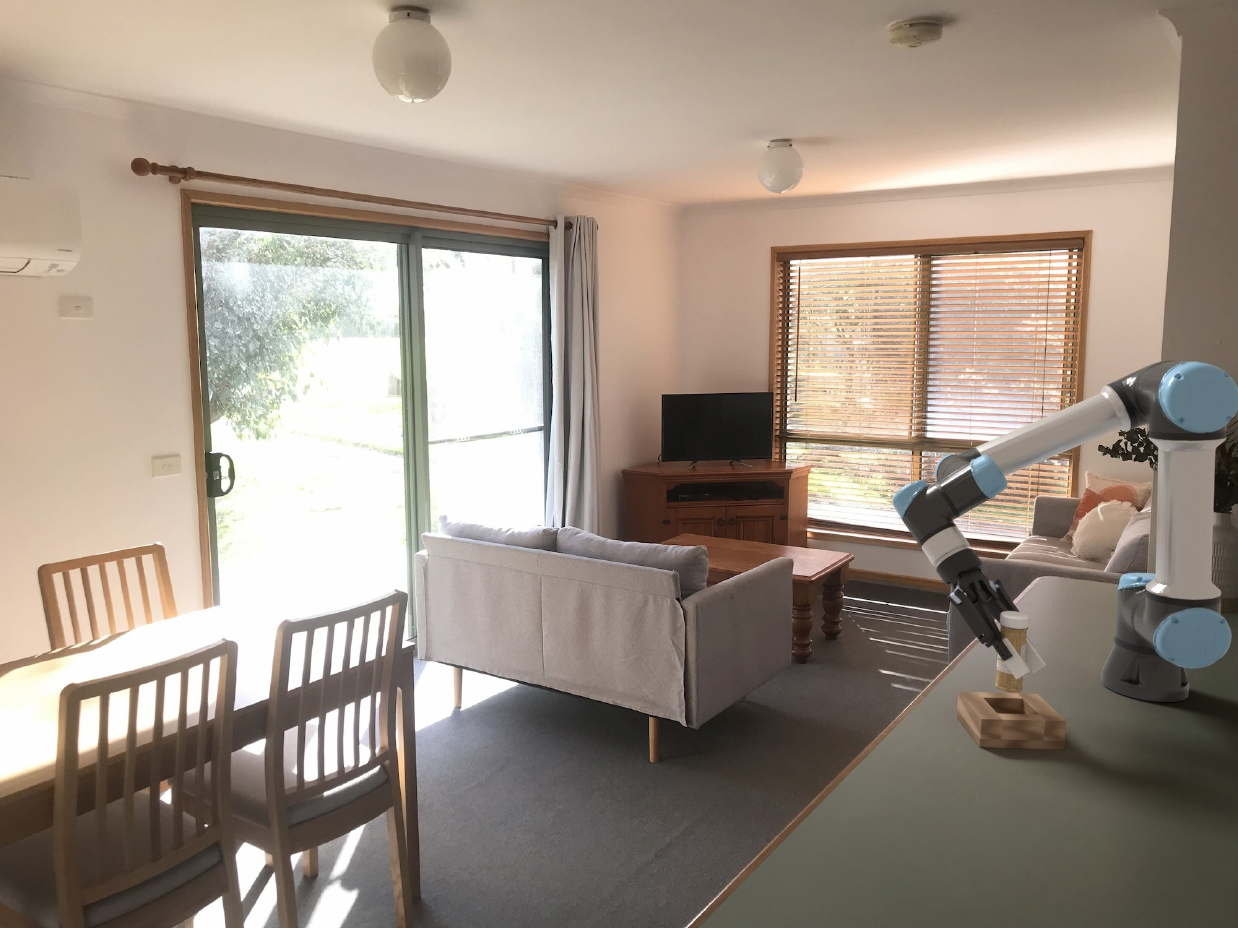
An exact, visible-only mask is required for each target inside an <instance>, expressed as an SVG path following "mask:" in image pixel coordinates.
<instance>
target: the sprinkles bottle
mask: <svg viewBox="0 0 1238 928" xmlns="http://www.w3.org/2000/svg"><path fill="white" fill-rule="evenodd" d="M1029 624H1030V617H1029V615H1028V614H1027V613H1024V612H1020V611H1019V612H1015V611H1004V612H1002V613H1001V615H1000V623H999V625H1000V629H999V631H1000V633H1001V634H1002V637H1003V638H1002V640H1003V639H1004V638H1008V640H1009V641H1010V642H1011V644H1012V645H1013V647H1014V648H1015V650H1016V651H1017V653H1018V654H1019V656H1020V657H1021V659H1022V660H1023V661H1024V663H1025V652H1026V637H1027V638H1028V636H1027V635H1028V630H1029ZM1027 629H1028V630H1027ZM996 657H997V659H996V676H995V683H994V686H995V688H996V689H998V690H1000V691H1002V692H1004V693H1022V691H1023V690H1024V688H1023V681H1024V676H1022V677H1021V678H1019V679H1017V680H1016V678H1015V677H1014V675H1013V674H1012V672H1011V671H1010V670H1009V668H1008V667H1007V665H1006V664H1005V662H1004V661H1003V660H1002V659H1001V657H1000V655H999V654H998V653H997V656H996ZM1025 664H1026V663H1025Z"/></svg>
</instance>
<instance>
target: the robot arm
mask: <svg viewBox="0 0 1238 928" xmlns="http://www.w3.org/2000/svg"><path fill="white" fill-rule="evenodd" d="M1237 412H1238V385H1237V383H1236V381H1235V379H1234V378H1233V377H1232V376H1231V375H1230V374H1229V373H1228V372H1227V371H1225V370H1224V369H1222V368H1220V367H1218V366H1216V365H1213V364H1210V363H1207V362H1203V361H1193V360H1192V361H1184V360H1183V361H1181V360H1180V361H1179V360H1161V361H1158V362H1155V363H1151V364H1149V365H1147V366H1146V365H1145V366H1143V367H1142V368H1140V369H1138V370H1136V371H1133V372H1131V373H1130V374H1127V375H1125V376H1123V377H1120V378H1119V379H1117V380H1114V381H1112V382H1110V383H1108V384H1105V385H1104V386H1102V387H1101V390H1100V392H1099V393H1098V394H1096V395H1094V396H1092V397H1088V398H1087V399H1084V400H1082V401H1080V402H1076V403H1075V404H1073V405H1070V406H1068V407H1066V408H1063V409H1061V410H1059V411H1057V412H1054V413H1052V414H1050V415H1047V416H1044V417H1043V418H1040V419H1038V420H1036V421H1033V422H1030V423H1028V424H1027V425H1024V426H1022V427H1019V428H1017V429H1014V430H1012V431H1010V432H1007V433H1005V434H1003V435H1000V436H998V437H996V438H994V439H991V440H989V441H987V442H984V443H982V444H980V445H977V446H975V447H973V448H970V449H968V450H966V451H964V452H961V453H950V454H947V455H945V456H943V457H941V459H939V461H937V464H936V466H935V469H934V475H935V481H936V482H935V483H933V484H931V485H930V484H928V483H927V481H925V480H923V479H919V480H918V479H917V480H915V481H912V482H911V483H907V484H906V485H904V486H903V487H901V488H900V489H899V490H897V492H896V493H895V494H894V496H893V498H892V505H893V507H894V509H895V510H896V513H898V516H899V517H900V519H901V521H902V522H903V523H904V525H905V526H906V528H907V529H908V530H907V531H908V532H910V534H911V535H912V537H913V538H914V540H915V541H916V543H917V544H918V545H919V547H920V549H921V550H922V552H924V554H925V556H926V557H927V558H928V560H929V562H930V563H931V565H932V566H933V567H936V573H937V574H938V576H939V577H940V579H941V580H942V582H943V583H944V584H945V586H948V587H950V586H952V589H953V592H951V593H949V595H947V600H948V601H949V602H950V603H951V604H952V605H953V606H954V607H955V608H956V609H957V611H958V613H959V614H960V615H961V617H962V618H963V620H964V621H965V622H966V624H967V625H968V627H969V628H970V630H971V632H973V634H974V636H975V637H976V638H977V640H978V641H979V643H980V644H982V645H984V646H985V647H986V648H989V649H990V648H991V647H993V648H994V649H995V652H996V653H997V655H998V654H999V655H1000V657H1001V659H1002V660H1003V661H1004V662H1005V664H1006V665H1007V667H1008V668H1009V670H1010V671H1011V672H1012V674H1013V675H1014V677H1015V678H1016V680H1017V679H1019V678H1021V677H1022V676H1023V677H1024V676H1025V675H1027V674H1028V673H1030V672H1031V673H1032V674H1036V673H1037V672H1038V671H1040V670H1042V669H1043V668H1045V667H1047V664H1046V663H1045V661H1044V660H1043V658H1042V657H1041V655H1040V654H1039V652H1038V651H1037V649H1036V648H1035V647H1034V646H1035V645H1033V643H1032V642H1031V641H1030V638H1029V637H1028V636H1027V637H1026V652H1025V663H1024V661H1023V660H1022V659H1021V657H1020V656H1019V654H1018V653H1017V651H1016V650H1015V648H1014V647H1013V645H1012V644H1011V642H1010V641H1009V640H1008V638H1004V639H1003V640H1002V638H1003V637H1002V634H1001V633H1000V629H999V627H998V625H997V623H998V624H1000V615H1001V613H1002V612H1004V611H1015V612H1020V610H1019V609H1018V607H1017V606H1016V605H1015V603H1014V602H1013V600H1012V598H1011V597H1010V596H1009V594H1008V593H1007V591H1006V589H1005V588H1004V585H1003V583H1002V580H1001V579H999V578H997V579H995V580H994V581H993V580H990V579H989V578H988V576H986V575H985V574H984V573H983V572H982V568H983V565H984V564H983V561H982V560H981V559H980V557H979V556H978V554H977V553H976V551H975V550H974V549H973V548H970V543H969V541H968V539H967V538H966V537H965V536H964V534H963V533H962V532H961V530H960V529H959V528H958V526H957V525H956V523H955V522H954V521H955V520H956V519H958V518H960V517H961V516H963V515H965V514H966V513H968V512H970V511H972V510H974V509H975V508H977V507H979V506H980V505H983V504H984V503H986V502H987V501H990V500H991V499H994V498H995V497H996V496H997V495H999V494H1000V493H1003V491H1004V490H1006V489H1007V487H1008V480H1007V478H1006V477H1007V476H1009V475H1012V474H1014V473H1016V472H1019V471H1021V470H1023V469H1026V468H1028V467H1031V466H1033V465H1036V464H1037V463H1040V462H1042V461H1046V460H1047V459H1051V458H1052V457H1055V456H1057V455H1060V454H1062V453H1064V452H1066V451H1069V450H1071V449H1074V448H1076V447H1079V446H1081V445H1083V444H1085V443H1089V442H1091V441H1093V440H1095V439H1099V438H1100V437H1103V436H1105V435H1108V434H1110V433H1112V432H1115V431H1117V430H1120V431H1123V432H1129V431H1131V430H1133V429H1135V428H1139V427H1143V426H1147V425H1148V439H1149V441H1150V442H1152V444H1154V446H1156V447H1157V449H1158V451H1157V452H1158V454H1157V455H1158V456H1157V497H1156V498H1157V499H1156V501H1157V502H1156V533H1155V534H1156V539H1155V541H1156V542H1155V545H1156V548H1155V573H1153V572H1152V573H1151V572H1127V573H1124V574H1122V575H1121V576H1120V578H1119V583H1118V588H1117V590H1116V591H1117V599H1116V600H1117V602H1116V612H1115V614H1116V615H1115V627H1114V637H1113V639H1114V640H1113V645H1112V648H1111V650H1110V652H1109V654H1108V655H1107V658H1106V660H1105V663H1104V664H1103V667H1102V668H1101V670H1100V671H1101V675H1100V683H1101V684H1102V685H1103V686H1104V687H1106V688H1107V689H1109V690H1110V691H1112V692H1115V693H1117V694H1120V695H1123V696H1126V697H1130V698H1133V699H1138V700H1142V701H1149V702H1154V703H1155V702H1156V703H1160V702H1161V703H1174V702H1175V703H1177V702H1181V701H1184V700H1186V699H1188V697H1189V692H1190V683H1189V679H1188V676H1187V672H1186V669H1193V670H1194V669H1202V668H1206V667H1209V666H1211V665H1213V664H1215V663H1216V662H1217V661H1219V659H1222V658H1223V657H1224V656H1225V655H1226V653H1227V652H1228V651H1229V648H1230V646H1231V642H1232V629H1231V627H1230V625H1229V623H1228V621H1227V620H1226V618H1225V617H1224V616H1223V615H1222V614H1221V611H1222V610H1221V608H1222V590H1220V589H1219V588H1218V587H1217V586H1216V585H1215V584H1214V583H1213V581H1212V569H1213V568H1212V567H1213V566H1212V565H1213V563H1212V562H1213V559H1212V558H1213V533H1214V532H1213V530H1214V501H1215V500H1214V499H1215V470H1216V469H1215V467H1216V465H1215V464H1216V449H1217V447H1219V446H1220V445H1221V444H1222V443H1224V442H1225V441H1226V440H1227V430H1228V429H1227V425H1228V424H1229V423H1230V421H1231V420H1233V418H1234V417H1235V416H1236V414H1237ZM1028 630H1029V628H1028V629H1027V631H1028Z"/></svg>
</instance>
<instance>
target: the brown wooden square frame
mask: <svg viewBox="0 0 1238 928" xmlns="http://www.w3.org/2000/svg"><path fill="white" fill-rule="evenodd" d="M956 705H957V706H956V719H957V721H958V722H959V723H960V724H961V725H962V727H963V728H964V730H965V731H966V732H967V734H969V736H970V737H971V738H972V740H973V741H974V742H975V743H976V745H977V746H978V747H979V748H996V749H998V748H999V749H1000V748H1001V749H1029V750H1030V749H1032V750H1033V749H1037V750H1064V749H1065V744H1066V742H1065V741H1066V731H1067V730H1066V729H1067V728H1066V727H1067V720H1066V719H1065V718H1064V717H1062V715H1060V713H1058V712H1057V711H1056V710H1055V709H1054V708H1053V707H1052V706H1051V705H1050V704H1049V703H1048V702H1047V701H1045V700H1044V698H1042V697H1041V696H1040V695H1039V694H1038V693H1036V692H1035V693H1029V692H1028V693H1027V692H1018V693H1010V692H992V691H991V692H987V691H958V693H957V704H956Z"/></svg>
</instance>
